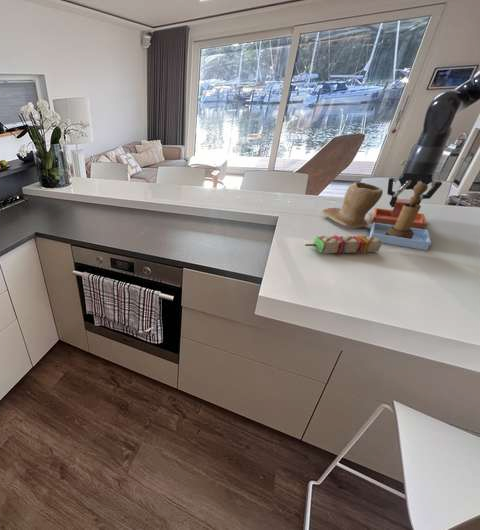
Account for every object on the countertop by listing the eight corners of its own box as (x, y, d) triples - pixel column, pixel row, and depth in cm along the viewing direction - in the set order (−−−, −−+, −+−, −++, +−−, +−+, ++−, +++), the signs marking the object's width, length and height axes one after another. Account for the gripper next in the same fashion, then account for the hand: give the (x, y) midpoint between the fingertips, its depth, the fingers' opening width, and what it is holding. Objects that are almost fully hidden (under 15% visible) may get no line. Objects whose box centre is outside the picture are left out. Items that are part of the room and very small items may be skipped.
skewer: (366, 246, 94) (372, 232, 91) (379, 255, 88) (386, 240, 86) (298, 247, 96) (302, 233, 94) (307, 256, 91) (311, 242, 88)
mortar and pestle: (380, 235, 98) (402, 182, 89) (393, 231, 100) (416, 179, 90) (402, 243, 92) (429, 187, 83) (415, 238, 94) (443, 184, 85)
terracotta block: (408, 212, 106) (414, 199, 104) (409, 217, 103) (414, 203, 100) (390, 211, 109) (395, 198, 106) (390, 215, 106) (395, 202, 103)
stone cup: (377, 229, 104) (394, 187, 96) (343, 230, 104) (357, 190, 97) (349, 214, 117) (362, 177, 109) (319, 216, 117) (330, 179, 110)
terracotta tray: (421, 220, 107) (424, 213, 106) (423, 231, 100) (426, 224, 98) (372, 214, 115) (375, 208, 114) (371, 223, 108) (373, 217, 106)
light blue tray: (424, 237, 96) (428, 230, 95) (427, 250, 89) (431, 242, 87) (370, 228, 104) (373, 222, 103) (369, 240, 97) (371, 233, 95)
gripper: (395, 160, 98) (376, 207, 106) (456, 162, 89) (430, 214, 98) (395, 156, 103) (377, 202, 111) (453, 158, 94) (428, 207, 103)
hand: (402, 207), depth 105 cm, fingers closed on terracotta block, 5 cm apart
